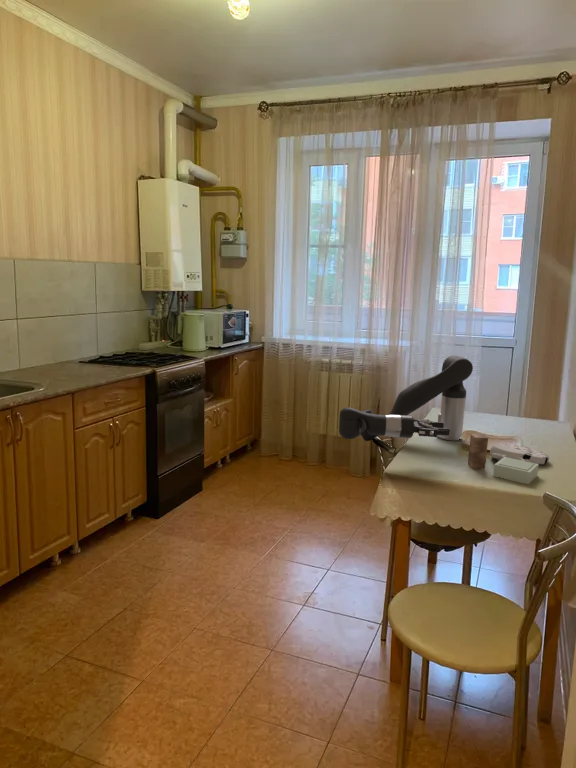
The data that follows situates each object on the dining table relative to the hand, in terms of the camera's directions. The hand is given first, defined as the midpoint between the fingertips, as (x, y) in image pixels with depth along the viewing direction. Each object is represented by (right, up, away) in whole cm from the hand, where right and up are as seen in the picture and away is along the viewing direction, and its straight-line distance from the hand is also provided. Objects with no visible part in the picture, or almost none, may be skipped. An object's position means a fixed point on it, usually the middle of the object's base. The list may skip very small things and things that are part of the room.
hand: (446, 428), depth 192 cm
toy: (+29, -13, +13) cm, 34 cm away
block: (+11, -13, +3) cm, 17 cm away
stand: (+21, -15, -5) cm, 27 cm away
